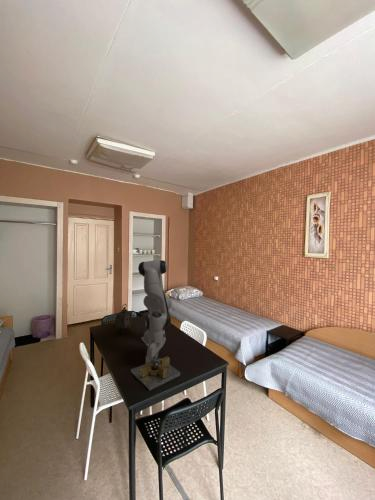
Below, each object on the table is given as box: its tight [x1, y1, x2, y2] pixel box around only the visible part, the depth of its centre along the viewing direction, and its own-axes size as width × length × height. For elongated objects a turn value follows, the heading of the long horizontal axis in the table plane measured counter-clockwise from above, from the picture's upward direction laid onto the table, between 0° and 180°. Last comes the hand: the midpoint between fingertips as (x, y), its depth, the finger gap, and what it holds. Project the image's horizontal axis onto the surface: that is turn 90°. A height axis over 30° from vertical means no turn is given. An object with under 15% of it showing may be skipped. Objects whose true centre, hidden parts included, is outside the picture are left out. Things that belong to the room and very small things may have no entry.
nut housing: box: [130, 357, 181, 391], centre depth 133 cm, size 22×22×7 cm
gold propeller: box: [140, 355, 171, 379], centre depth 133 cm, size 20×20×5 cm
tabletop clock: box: [115, 303, 133, 334], centre depth 202 cm, size 14×9×25 cm, turn 162°
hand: (155, 358), depth 141 cm, fingers closed
